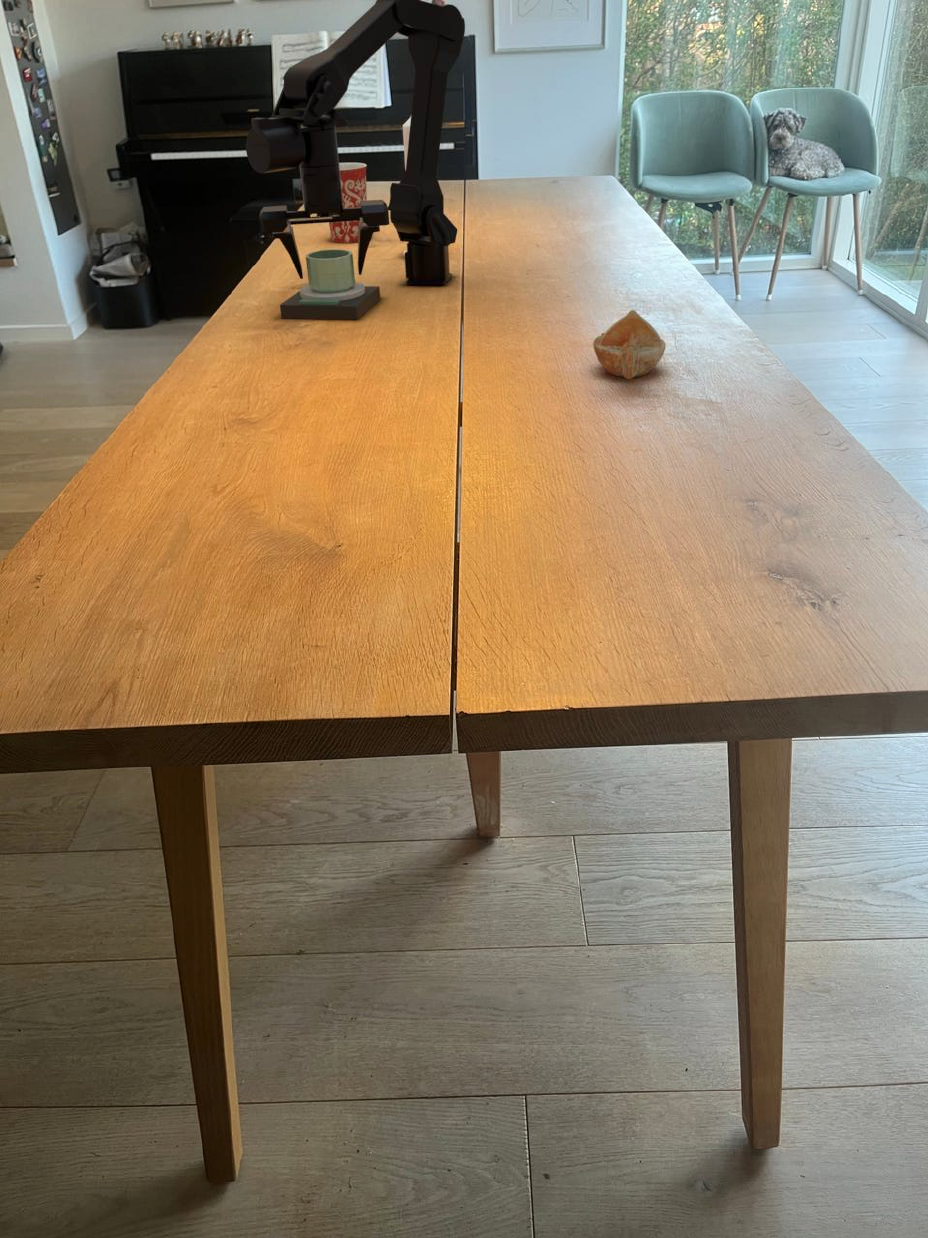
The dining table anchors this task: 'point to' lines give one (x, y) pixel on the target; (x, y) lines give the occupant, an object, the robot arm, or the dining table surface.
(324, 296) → the scale
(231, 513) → the dining table surface
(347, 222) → the mug
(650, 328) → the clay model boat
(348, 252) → the bowl
